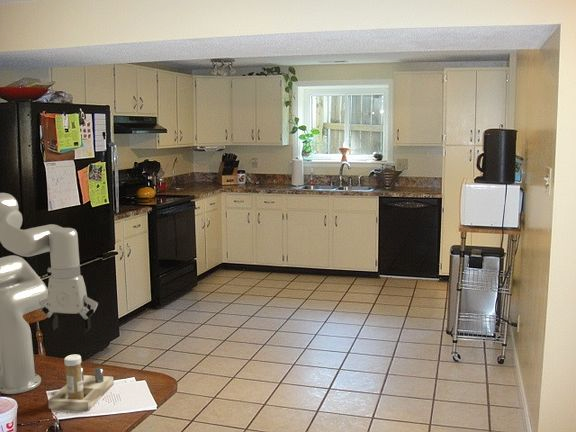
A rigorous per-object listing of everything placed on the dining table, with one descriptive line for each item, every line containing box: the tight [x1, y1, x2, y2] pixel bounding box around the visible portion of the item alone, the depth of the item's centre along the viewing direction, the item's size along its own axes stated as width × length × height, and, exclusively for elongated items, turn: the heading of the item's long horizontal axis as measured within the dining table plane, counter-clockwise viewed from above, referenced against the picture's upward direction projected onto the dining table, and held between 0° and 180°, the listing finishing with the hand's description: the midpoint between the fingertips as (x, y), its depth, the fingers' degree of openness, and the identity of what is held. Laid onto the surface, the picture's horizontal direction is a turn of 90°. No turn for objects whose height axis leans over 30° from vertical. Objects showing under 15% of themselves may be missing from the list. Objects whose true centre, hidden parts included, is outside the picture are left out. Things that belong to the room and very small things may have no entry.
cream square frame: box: [47, 365, 114, 412], centre depth 183 cm, size 12×17×6 cm
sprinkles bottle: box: [63, 354, 84, 400], centre depth 179 cm, size 5×5×13 cm
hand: (70, 330), depth 177 cm, fingers open, 9 cm apart
